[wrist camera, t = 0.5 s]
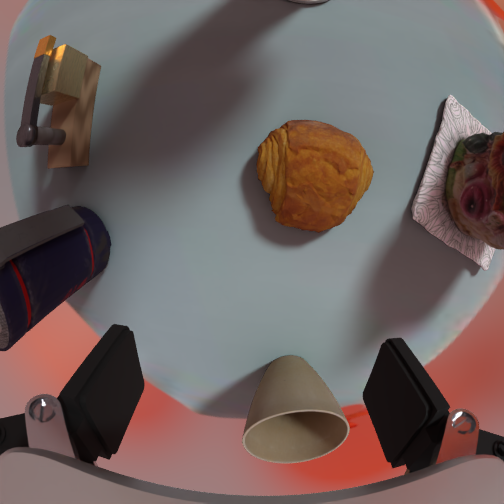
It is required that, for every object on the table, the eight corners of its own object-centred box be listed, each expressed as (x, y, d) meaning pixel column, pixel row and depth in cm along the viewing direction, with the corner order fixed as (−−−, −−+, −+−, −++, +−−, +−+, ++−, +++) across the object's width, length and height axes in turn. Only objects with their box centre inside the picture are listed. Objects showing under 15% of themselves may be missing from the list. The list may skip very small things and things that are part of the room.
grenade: (94, 287, 41) (-21, 398, 12) (51, 242, 39) (-76, 315, 10) (133, 228, 38) (-27, 332, 9) (84, 180, 36) (-82, 219, 7)
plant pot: (250, 334, 43) (247, 407, 28) (337, 339, 43) (365, 406, 28) (242, 395, 47) (238, 462, 32) (316, 398, 48) (330, 461, 32)
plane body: (78, 71, 30) (38, 55, 19) (101, 65, 30) (62, 44, 19) (66, 167, 35) (20, 171, 24) (88, 165, 35) (42, 168, 24)
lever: (43, 43, 19) (37, 40, 17) (58, 37, 19) (51, 33, 17) (23, 148, 23) (15, 148, 22) (37, 145, 23) (28, 145, 22)
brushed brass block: (59, 65, 25) (36, 56, 20) (88, 56, 25) (65, 44, 20) (51, 105, 27) (26, 100, 22) (79, 98, 27) (54, 90, 22)
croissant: (270, 116, 35) (265, 99, 28) (374, 147, 34) (393, 138, 27) (246, 211, 39) (234, 217, 31) (349, 241, 38) (362, 254, 30)
